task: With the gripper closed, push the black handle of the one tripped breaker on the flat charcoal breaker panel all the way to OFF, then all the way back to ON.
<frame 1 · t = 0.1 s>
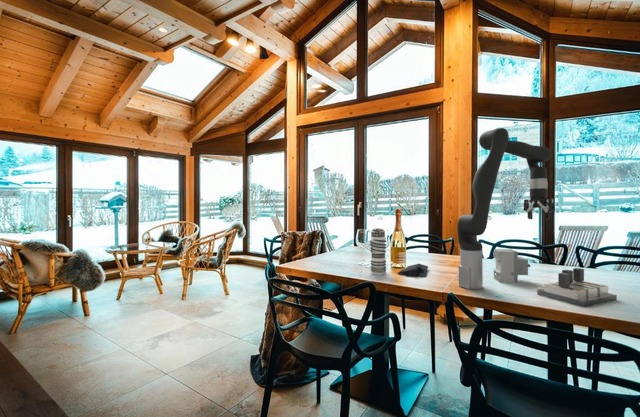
hand: (538, 219, 159), 29 cm above the table, tool pointing down, fingers open, 8 cm apart
grey ringed tower: (378, 273, 175), on the table
tripped breaker handle: (564, 279, 123), point 8 cm above the table, slide at 3.0 cm
dark slate chunk: (414, 273, 175), on the table
circuit breaker: (512, 281, 153), on the table
breaker panel: (575, 297, 126), on the table
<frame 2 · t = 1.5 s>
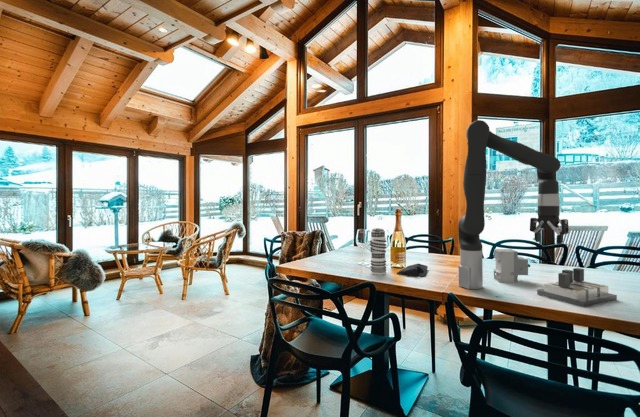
hand: (548, 242, 132), 21 cm above the table, tool pointing down, fingers open, 8 cm apart
nothing on the table moved.
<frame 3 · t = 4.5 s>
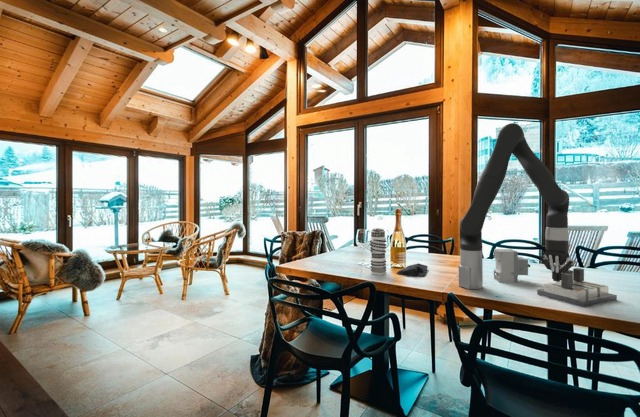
hand: (557, 281, 126), 7 cm above the table, tool pointing down, fingers closed
tripped breaker handle: (566, 280, 123), point 8 cm above the table, slide at 1.9 cm, touching gripper
everything else where it was.
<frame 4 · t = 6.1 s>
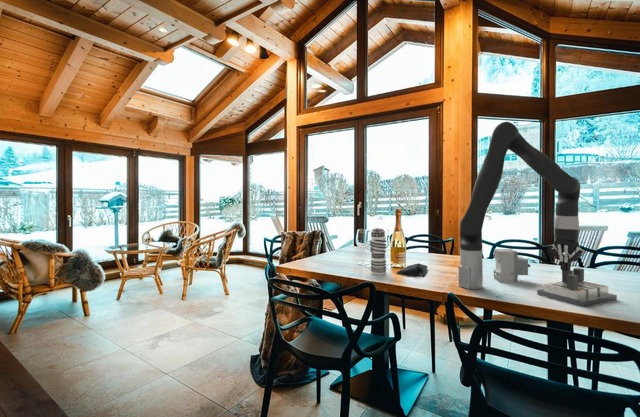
hand: (565, 271, 123), 11 cm above the table, tool pointing down, fingers closed
tripped breaker handle: (572, 281, 121), point 8 cm above the table, slide at -0.1 cm
everything else where it was.
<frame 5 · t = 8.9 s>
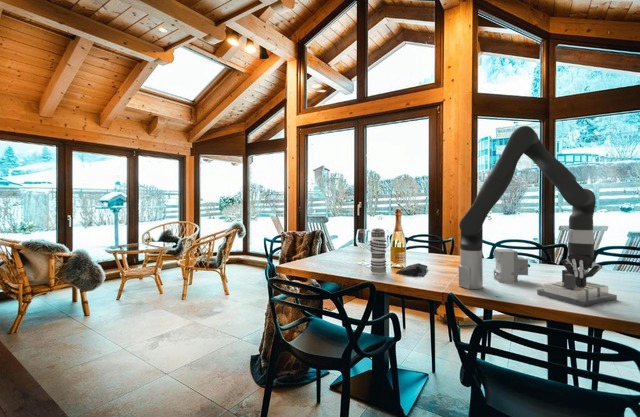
hand: (580, 287, 118), 6 cm above the table, tool pointing down, fingers closed
tripped breaker handle: (569, 281, 122), point 8 cm above the table, slide at 1.0 cm, touching gripper
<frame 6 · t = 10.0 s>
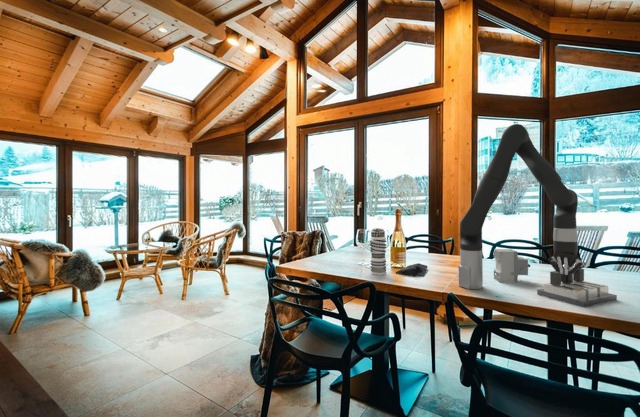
hand: (566, 283, 123), 6 cm above the table, tool pointing down, fingers closed
tripped breaker handle: (555, 278, 126), point 8 cm above the table, slide at 6.1 cm, touching gripper
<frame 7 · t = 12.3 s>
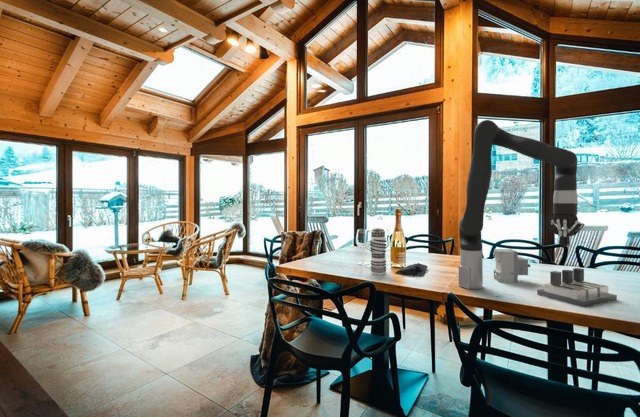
hand: (564, 246, 123), 21 cm above the table, tool pointing down, fingers closed
tripped breaker handle: (555, 278, 126), point 8 cm above the table, slide at 6.1 cm
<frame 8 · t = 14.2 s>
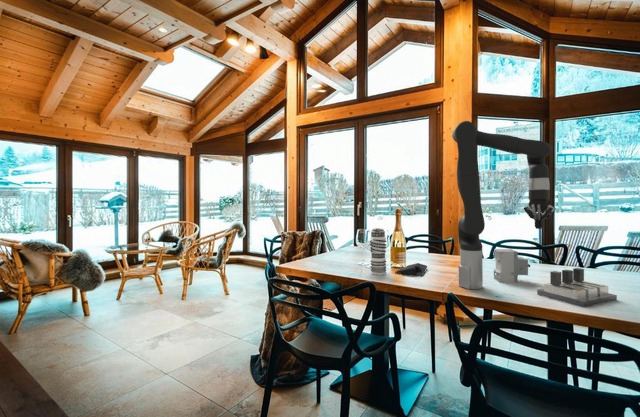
hand: (539, 228, 136), 27 cm above the table, tool pointing down, fingers closed
at the end: tripped breaker handle slide at 6.1 cm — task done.
